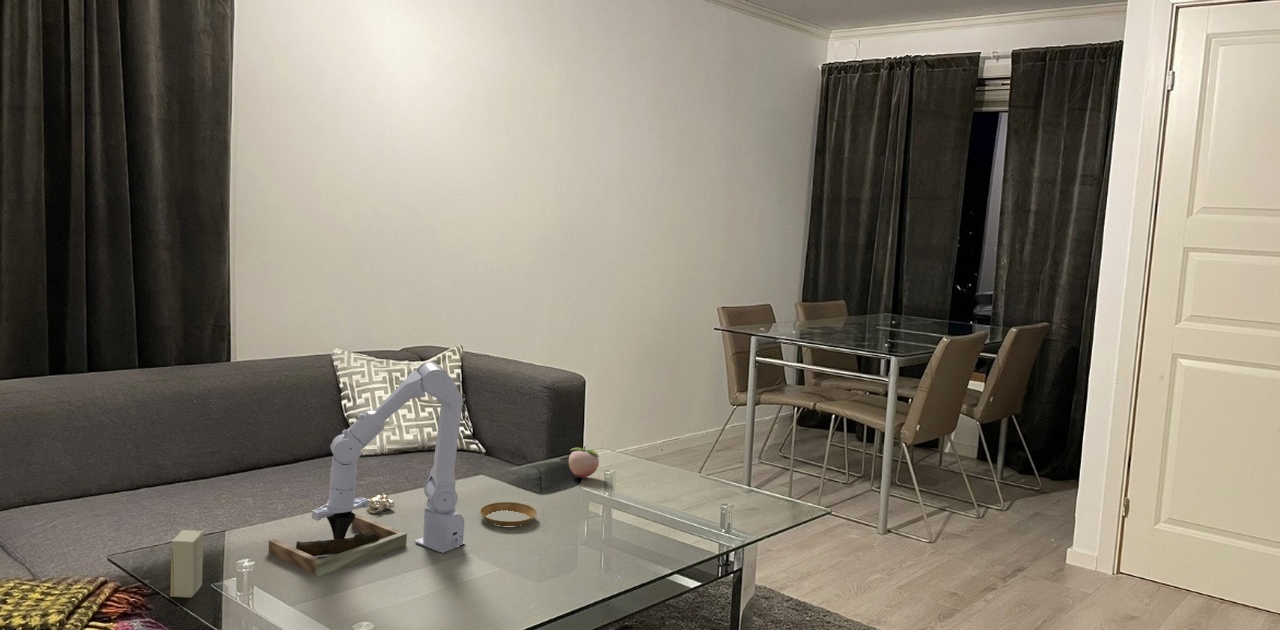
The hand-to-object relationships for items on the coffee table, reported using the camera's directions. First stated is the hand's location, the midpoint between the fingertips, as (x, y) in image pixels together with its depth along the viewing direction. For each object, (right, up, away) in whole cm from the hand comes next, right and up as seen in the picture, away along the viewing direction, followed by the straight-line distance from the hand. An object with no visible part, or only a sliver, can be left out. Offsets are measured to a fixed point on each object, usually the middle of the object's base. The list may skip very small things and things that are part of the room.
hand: (338, 542), depth 230 cm
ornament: (+2, +2, +29) cm, 29 cm away
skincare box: (-23, -4, -26) cm, 35 cm away
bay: (0, -2, +1) cm, 2 cm away
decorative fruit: (+53, +4, +67) cm, 86 cm away
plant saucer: (+36, -1, +29) cm, 46 cm away
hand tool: (+1, -2, -2) cm, 3 cm away
